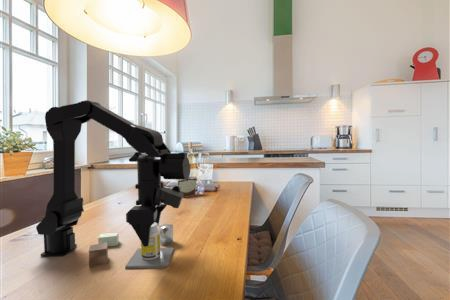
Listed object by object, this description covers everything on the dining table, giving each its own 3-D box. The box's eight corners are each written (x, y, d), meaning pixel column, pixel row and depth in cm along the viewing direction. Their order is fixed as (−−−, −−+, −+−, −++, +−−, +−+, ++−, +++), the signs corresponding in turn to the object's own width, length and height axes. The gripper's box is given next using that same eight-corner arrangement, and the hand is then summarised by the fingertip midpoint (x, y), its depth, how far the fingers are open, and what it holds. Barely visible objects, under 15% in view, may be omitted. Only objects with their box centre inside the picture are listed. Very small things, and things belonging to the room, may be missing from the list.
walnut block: (89, 267, 63) (88, 251, 62) (90, 260, 66) (90, 245, 66) (107, 264, 64) (106, 248, 64) (107, 257, 68) (107, 242, 68)
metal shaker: (158, 245, 75) (157, 228, 74) (161, 240, 79) (160, 224, 78) (172, 245, 75) (171, 228, 75) (174, 240, 79) (173, 224, 79)
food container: (191, 193, 147) (191, 175, 146) (197, 194, 142) (197, 176, 142) (172, 196, 139) (171, 178, 139) (177, 198, 134) (177, 179, 134)
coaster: (125, 268, 62) (125, 266, 61) (137, 250, 71) (137, 248, 71) (167, 267, 62) (167, 265, 62) (173, 249, 72) (173, 247, 72)
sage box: (98, 247, 74) (98, 237, 74) (100, 243, 77) (100, 234, 77) (117, 245, 75) (116, 235, 75) (118, 241, 78) (118, 232, 78)
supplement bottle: (153, 250, 70) (152, 220, 70) (164, 255, 67) (163, 223, 67) (137, 256, 66) (136, 224, 66) (148, 262, 63) (147, 229, 63)
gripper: (175, 184, 57) (176, 254, 57) (185, 173, 75) (186, 225, 76) (124, 185, 56) (126, 255, 57) (147, 174, 75) (148, 226, 76)
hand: (150, 238), depth 66 cm, fingers open, 9 cm apart
